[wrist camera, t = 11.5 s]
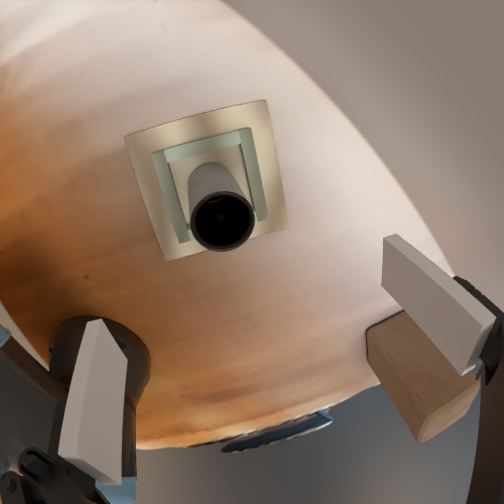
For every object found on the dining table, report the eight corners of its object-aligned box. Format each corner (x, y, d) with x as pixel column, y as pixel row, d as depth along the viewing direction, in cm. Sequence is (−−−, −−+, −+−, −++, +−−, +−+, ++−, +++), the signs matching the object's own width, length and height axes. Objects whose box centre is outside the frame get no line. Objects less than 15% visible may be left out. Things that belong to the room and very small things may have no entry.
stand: (166, 257, 34) (165, 268, 32) (125, 136, 27) (121, 139, 25) (286, 224, 35) (293, 233, 33) (263, 100, 28) (270, 100, 26)
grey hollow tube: (186, 205, 30) (189, 252, 22) (188, 161, 28) (190, 190, 20) (231, 206, 32) (252, 252, 23) (235, 162, 29) (259, 192, 21)
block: (363, 328, 47) (428, 423, 29) (413, 303, 47) (484, 383, 30) (366, 362, 52) (418, 447, 34) (410, 339, 52) (467, 414, 35)
